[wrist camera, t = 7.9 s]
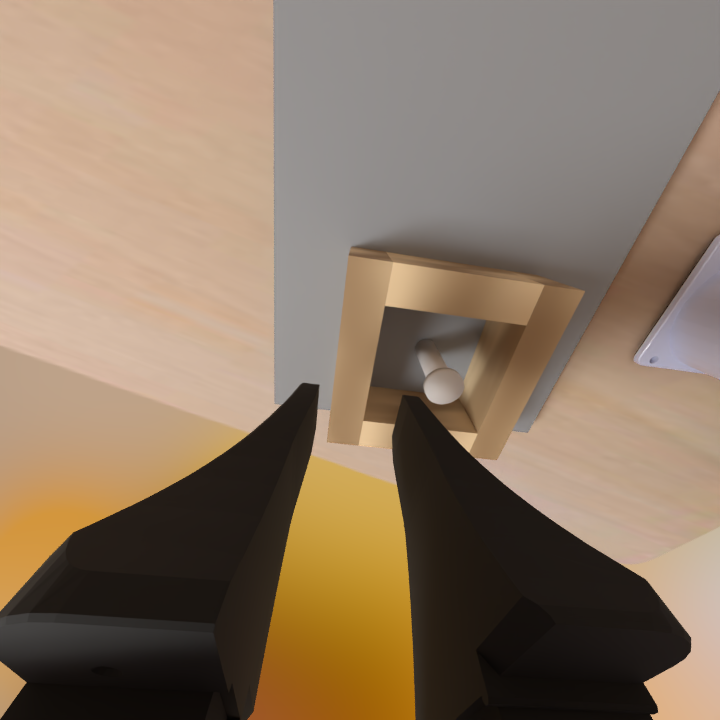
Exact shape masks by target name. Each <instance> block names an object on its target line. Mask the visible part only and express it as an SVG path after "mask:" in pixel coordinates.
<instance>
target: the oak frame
mask: <svg viewBox="0 0 720 720" xmlns="http://www.w3.org/2000/svg"><path fill="white" fill-rule="evenodd" d="M584 293H585V291H583V290H580V289H577V288H574V287H571V286H568V285H565V284H562V283H559V282H556V281H553V280H551V279H548V278H545V277H542V276H539V275H533V274H527V273H520V272H514V271H507V270H501V269H494V268H488V267H481V266H475V265H468V264H462V263H455V262H449V261H442V260H436V259H429V258H423V257H416V256H409V255H403V254H396V253H390V252H383V251H377V250H370V249H364V248H357V247H351V248H350V252H349V255H348V264H347V273H346V281H345V290H344V299H343V307H342V316H341V324H340V333H339V342H338V350H337V359H336V368H335V376H334V385H333V393H332V402H331V411H330V419H329V428H328V437H327V442H330V443H340V444H349V445H359V446H368V447H378V448H387V449H392V433H393V430H394V426H395V422H396V418H397V414H398V410H399V406H400V403H401V399H402V395H409V396H417V397H419V398H420V399H421V400H422V401H423V402H424V403H425V404H426V406H427V407H428V408H429V409H430V410H431V412H432V413H433V414H434V415H435V416H436V417H437V419H438V420H439V421H440V422H441V423H442V424H443V426H444V427H445V428H446V429H447V430H448V431H449V432H450V433H451V435H452V436H453V437H454V438H455V439H456V440H457V441H458V442H459V443H460V444H461V445H462V446H463V447H464V448H465V449H466V450H467V451H468V452H469V453H470V454H471V455H472V456H473V457H474V458H482V459H491V460H497V459H498V457H499V455H500V453H501V451H502V449H503V447H504V445H505V444H506V442H507V440H508V438H509V436H510V434H511V432H512V430H513V428H514V426H515V424H516V423H517V421H518V419H519V417H520V415H521V413H522V411H523V409H524V407H525V405H526V403H527V402H528V400H529V398H530V396H531V394H532V392H533V390H534V388H535V386H536V384H537V382H538V381H539V379H540V377H541V375H542V373H543V371H544V369H545V367H546V365H547V363H548V361H549V360H550V358H551V356H552V354H553V352H554V350H555V348H556V346H557V344H558V342H559V340H560V339H561V337H562V335H563V333H564V331H565V329H566V327H567V325H568V323H569V321H570V320H571V318H572V316H573V314H574V312H575V310H576V308H577V306H578V304H579V302H580V300H581V299H582V297H583V295H584ZM385 306H390V307H397V308H405V309H412V310H419V311H426V312H433V313H440V314H447V315H454V316H462V317H469V318H476V319H483V320H486V323H485V326H484V328H483V331H482V334H481V336H480V339H479V342H478V344H477V347H476V350H475V352H474V355H473V358H472V360H471V363H470V366H469V368H468V371H467V374H466V376H465V379H464V391H463V393H462V394H461V396H460V397H459V398H458V399H457V400H455V401H453V402H451V403H448V404H436V403H433V402H431V401H430V400H429V399H428V398H427V396H426V394H425V393H423V392H414V391H406V390H398V389H389V388H381V387H373V386H370V382H371V377H372V372H373V366H374V361H375V356H376V351H377V345H378V340H379V335H380V329H381V324H382V319H383V314H384V308H385Z"/></svg>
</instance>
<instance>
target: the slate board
mask: <svg viewBox="0 0 720 720" xmlns="http://www.w3.org/2000/svg"><path fill="white" fill-rule="evenodd" d="M273 5H274V370H275V404H279V405H282V404H283V403H284V402H285V401H286V400H287V399H288V398H289V397H290V396H291V395H292V393H293V392H294V391H295V390H296V389H297V388H298V386H299V385H300V384H302V383H310V384H319V385H320V387H319V398H318V409H324V410H331V402H332V393H333V385H334V376H335V368H336V359H337V350H338V342H339V333H340V324H341V316H342V307H343V299H344V290H345V281H346V273H347V264H348V255H349V252H350V248H351V247H357V248H364V249H370V250H377V251H383V252H390V253H396V254H403V255H409V256H416V257H423V258H429V259H436V260H442V261H449V262H455V263H462V264H468V265H475V266H481V267H488V268H494V269H501V270H507V271H514V272H520V273H527V274H533V275H539V276H542V277H545V278H548V279H551V280H553V281H556V282H559V283H562V284H565V285H568V286H571V287H574V288H577V289H580V290H583V291H585V293H584V295H583V297H582V299H581V300H580V302H579V304H578V306H577V308H576V310H575V312H574V314H573V316H572V318H571V320H570V321H569V323H568V325H567V327H566V329H565V331H564V333H563V335H562V337H561V339H560V340H559V342H558V344H557V346H556V348H555V350H554V352H553V354H552V356H551V358H550V360H549V361H548V363H547V365H546V367H545V369H544V371H543V373H542V375H541V377H540V379H539V381H538V382H537V384H536V386H535V388H534V390H533V392H532V394H531V396H530V398H529V400H528V402H527V403H526V405H525V407H524V409H523V411H522V413H521V415H520V417H519V419H518V421H517V423H516V424H515V426H514V428H513V430H512V431H518V432H527V433H528V431H529V430H530V428H531V426H532V424H533V422H534V421H535V419H536V417H537V415H538V413H539V412H540V410H541V408H542V406H543V405H544V403H545V401H546V399H547V397H548V396H549V394H550V392H551V390H552V388H553V387H554V385H555V383H556V381H557V380H558V378H559V376H560V374H561V372H562V371H563V369H564V367H565V365H566V364H567V362H568V360H569V358H570V356H571V355H572V353H573V351H574V349H575V347H576V346H577V344H578V342H579V340H580V339H581V337H582V335H583V333H584V331H585V330H586V328H587V326H588V324H589V323H590V321H591V319H592V317H593V315H594V314H595V312H596V310H597V308H598V306H599V305H600V303H601V301H602V299H603V298H604V296H605V294H606V292H607V290H608V289H609V287H610V285H611V283H612V281H613V280H614V278H615V276H616V274H617V273H618V271H619V269H620V267H621V265H622V264H623V262H624V260H625V258H626V257H627V255H628V253H629V251H630V249H631V248H632V246H633V244H634V242H635V240H636V239H637V237H638V235H639V233H640V232H641V230H642V228H643V226H644V224H645V223H646V221H647V219H648V217H649V216H650V214H651V212H652V210H653V208H654V207H655V205H656V203H657V201H658V199H659V198H660V196H661V194H662V192H663V191H664V189H665V187H666V185H667V183H668V182H669V180H670V178H671V176H672V174H673V173H674V171H675V169H676V167H677V166H678V164H679V162H680V160H681V158H682V157H683V155H684V153H685V151H686V150H687V148H688V146H689V144H690V142H691V141H692V139H693V137H694V135H695V133H696V132H697V130H698V128H699V126H700V125H701V123H702V121H703V119H704V117H705V116H706V114H707V112H708V110H709V109H710V107H711V105H712V103H713V101H714V100H715V98H716V96H717V94H718V92H719V91H720V0H273ZM485 323H486V320H483V319H476V318H469V317H462V316H454V315H447V314H440V313H433V312H426V311H419V310H412V309H405V308H397V307H390V306H385V308H384V314H383V319H382V324H381V329H380V335H379V340H378V345H377V351H376V356H375V361H374V366H373V372H372V377H371V382H370V386H373V387H381V388H389V389H398V390H406V391H414V392H423V393H425V394H426V396H427V398H428V399H429V400H430V401H431V402H433V403H436V404H448V403H451V402H453V401H455V400H457V399H458V398H459V397H460V396H461V394H462V393H463V391H464V379H465V376H466V374H467V371H468V368H469V366H470V363H471V360H472V358H473V355H474V352H475V350H476V347H477V344H478V342H479V339H480V336H481V334H482V331H483V328H484V326H485Z"/></svg>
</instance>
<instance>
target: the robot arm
mask: <svg viewBox="0 0 720 720" xmlns="http://www.w3.org/2000/svg"><path fill="white" fill-rule="evenodd" d="M634 362H635V363H637V364H639V365H643V366H650V367H658V368H665V369H673V370H680V371H687V372H695V373H702V374H707V375H710V376H712V377H714V378H716V379H718V380H720V234H719V235H718V236H717V237H716V238H715V239H714V240H713V241H712V243H711V244H710V246H709V247H708V249H707V250H706V252H705V253H704V255H703V256H702V258H701V259H700V261H699V262H698V263H697V265H696V266H695V268H694V269H693V271H692V272H691V274H690V275H689V277H688V278H687V280H686V281H685V283H684V284H683V285H682V287H681V288H680V290H679V291H678V293H677V294H676V296H675V297H674V299H673V300H672V302H671V303H670V305H669V306H668V307H667V309H666V310H665V312H664V313H663V315H662V316H661V318H660V319H659V321H658V322H657V324H656V325H655V327H654V328H653V329H652V331H651V332H650V334H649V335H648V337H647V338H646V340H645V341H644V343H643V344H642V346H641V347H640V349H639V350H638V351H637V353H636V354H635V356H634ZM319 387H320V385H319V384H310V383H302V384H300V385H299V386H298V388H297V389H296V390H295V391H294V392H293V393H292V395H291V396H290V397H289V398H288V399H287V400H286V401H285V402H284V403H283V404H282V405H281V406H280V407H279V408H278V409H277V410H276V411H275V412H274V413H273V414H272V415H271V416H270V417H269V418H267V419H266V420H265V421H264V422H263V423H262V424H261V425H259V426H258V427H257V428H256V429H255V430H254V431H252V432H251V433H250V434H249V435H248V436H246V437H245V438H244V439H242V440H241V441H240V442H238V443H237V444H236V445H234V446H233V447H232V448H230V449H229V450H228V451H226V452H225V453H223V454H222V455H220V456H219V457H217V458H216V459H214V460H213V461H211V462H209V463H208V464H207V465H205V466H203V467H202V468H200V469H199V470H197V471H196V472H194V473H192V474H190V475H189V476H187V477H185V478H183V479H182V480H180V481H178V482H176V483H174V484H172V485H171V486H169V487H167V488H165V489H163V490H161V491H159V492H158V493H156V494H154V495H152V496H150V497H148V498H146V499H144V500H142V501H140V502H138V503H136V504H134V505H132V506H130V507H128V508H125V509H123V510H121V511H119V512H117V513H115V514H113V515H110V516H109V517H106V518H104V519H102V520H100V521H98V522H96V523H93V524H91V525H89V526H87V527H85V528H82V529H80V530H78V531H76V532H73V534H72V535H70V536H69V538H67V540H66V541H65V542H64V543H63V544H62V545H61V546H60V547H59V548H58V549H57V550H56V551H55V552H54V553H53V554H52V555H51V556H50V557H49V558H48V559H47V560H46V561H45V562H44V563H43V564H42V566H41V567H40V568H39V569H38V570H37V571H36V572H35V573H34V575H33V576H32V577H31V578H30V579H29V580H28V581H27V582H26V583H25V585H24V586H23V587H22V588H21V589H20V590H19V591H18V592H17V593H16V595H15V596H14V597H13V598H12V599H11V600H10V601H9V602H8V604H7V605H6V606H5V607H4V608H3V609H2V610H1V611H0V661H1V662H2V663H3V664H5V665H6V666H7V667H9V668H10V669H11V670H12V671H13V672H15V673H16V674H17V675H18V676H20V677H21V678H22V679H23V680H25V681H26V682H27V683H26V684H25V686H24V687H23V688H22V690H21V691H20V693H19V694H18V695H17V697H16V698H15V699H14V701H13V702H12V704H11V705H10V707H9V708H8V709H7V711H6V712H5V714H4V715H3V716H2V718H1V719H0V720H247V719H248V718H249V717H250V715H251V714H252V713H253V711H254V705H255V700H256V695H257V689H258V684H259V678H260V673H261V668H262V663H263V658H264V653H265V647H266V642H267V637H268V632H269V627H270V622H271V617H272V612H273V606H274V601H275V596H276V591H277V586H278V581H279V576H280V571H281V567H282V562H283V556H284V552H285V547H286V542H287V537H288V533H289V528H290V524H291V519H292V516H293V512H294V508H295V505H296V502H297V498H298V495H299V492H300V488H301V485H302V482H303V478H304V475H305V472H306V469H307V465H308V462H309V458H310V455H311V451H312V446H313V441H314V435H315V430H316V421H317V409H318V398H319ZM392 452H393V464H394V470H395V476H396V481H397V487H398V492H399V498H400V503H401V509H402V515H403V520H404V527H405V535H406V547H407V557H408V558H407V559H408V571H409V585H410V600H411V618H412V636H413V656H414V657H413V658H414V684H415V716H416V720H653V719H652V717H651V715H650V714H656V713H658V708H657V705H656V703H655V701H654V700H653V698H652V696H651V695H650V693H649V692H648V690H647V688H646V686H645V685H644V683H643V682H645V681H647V680H649V679H651V678H653V677H654V676H656V675H658V674H660V673H662V672H664V671H665V670H667V669H669V668H671V667H673V666H674V665H676V664H678V663H679V662H680V661H682V660H684V659H685V658H686V657H687V655H688V654H689V653H690V652H691V637H690V636H689V634H688V633H687V632H686V631H685V629H684V628H683V627H682V625H681V624H680V623H679V622H678V620H677V619H676V618H675V617H674V615H673V614H672V613H671V611H670V610H669V609H668V607H667V606H666V605H665V603H664V602H663V601H662V600H661V598H660V597H659V596H658V595H657V593H656V592H655V591H654V589H653V588H652V587H651V586H650V584H649V583H648V582H647V581H646V580H645V579H644V578H642V577H641V576H639V575H637V574H636V573H634V572H632V571H631V570H629V569H627V568H625V567H624V566H623V565H621V564H619V563H618V562H616V561H614V560H613V559H611V558H609V557H608V556H606V555H604V554H603V553H601V552H599V551H598V550H596V549H595V548H593V547H591V546H590V545H588V544H586V543H585V542H583V541H582V540H580V539H579V538H577V537H576V536H574V535H573V534H571V533H570V532H568V531H567V530H565V529H564V528H562V527H561V526H559V525H558V524H556V523H555V522H554V521H552V520H551V519H549V518H548V517H546V516H545V515H544V514H542V513H541V512H539V511H538V510H537V509H535V508H534V507H533V506H531V505H530V504H529V503H527V502H526V501H525V500H523V499H522V498H521V497H520V496H518V495H517V494H516V493H514V492H513V491H512V490H511V489H509V488H508V487H507V486H506V485H504V484H503V483H502V482H501V481H500V480H498V479H497V478H496V477H495V476H494V475H493V474H492V473H490V472H489V471H488V470H487V469H486V468H485V467H484V466H482V465H481V464H480V463H479V462H478V461H477V460H476V459H475V458H474V457H473V456H472V455H471V454H470V453H469V452H468V451H467V450H466V449H465V448H464V447H463V446H462V445H461V444H460V443H459V442H458V441H457V440H456V439H455V438H454V437H453V436H452V435H451V433H450V432H449V431H448V430H447V429H446V428H445V427H444V426H443V424H442V423H441V422H440V421H439V420H438V419H437V417H436V416H435V415H434V414H433V413H432V412H431V410H430V409H429V408H428V407H427V406H426V404H425V403H424V402H423V401H422V400H421V399H420V398H419V397H417V396H409V395H402V399H401V403H400V406H399V410H398V414H397V418H396V422H395V426H394V430H393V433H392Z"/></svg>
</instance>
